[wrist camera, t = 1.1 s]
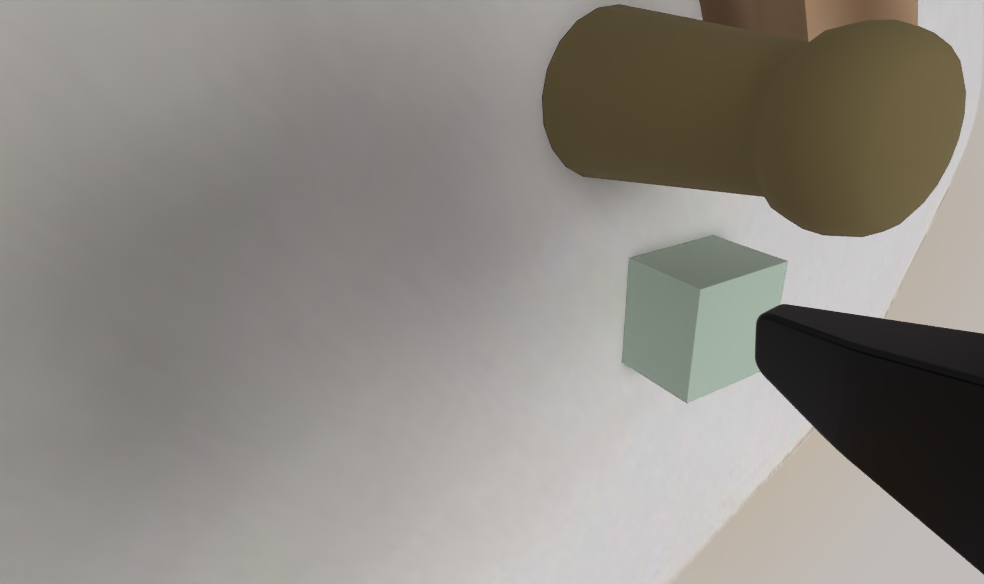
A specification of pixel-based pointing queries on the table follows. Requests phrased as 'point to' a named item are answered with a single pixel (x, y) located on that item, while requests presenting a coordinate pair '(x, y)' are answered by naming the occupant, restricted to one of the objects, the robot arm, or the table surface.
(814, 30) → the walnut block
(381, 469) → the table surface
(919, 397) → the robot arm
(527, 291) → the table surface
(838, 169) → the olive pawn
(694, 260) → the sage block
